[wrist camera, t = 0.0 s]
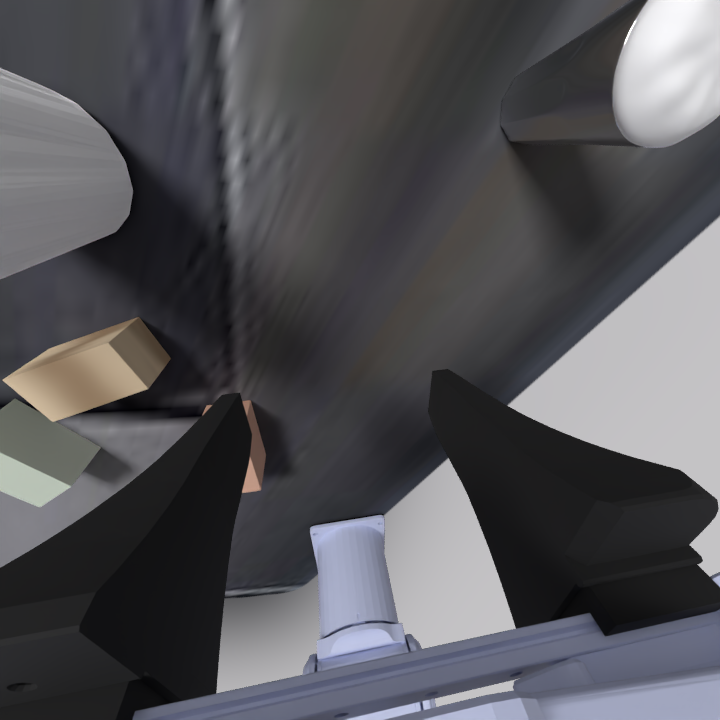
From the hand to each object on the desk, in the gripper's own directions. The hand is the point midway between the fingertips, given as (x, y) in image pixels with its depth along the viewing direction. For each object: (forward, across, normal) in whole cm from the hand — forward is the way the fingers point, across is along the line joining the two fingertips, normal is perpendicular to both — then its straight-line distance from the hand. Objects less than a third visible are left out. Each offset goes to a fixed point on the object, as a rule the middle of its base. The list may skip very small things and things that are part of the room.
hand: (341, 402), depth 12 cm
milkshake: (+10, -12, -10) cm, 19 cm away
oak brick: (+10, +14, +2) cm, 17 cm away
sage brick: (+10, +21, +8) cm, 25 cm away
